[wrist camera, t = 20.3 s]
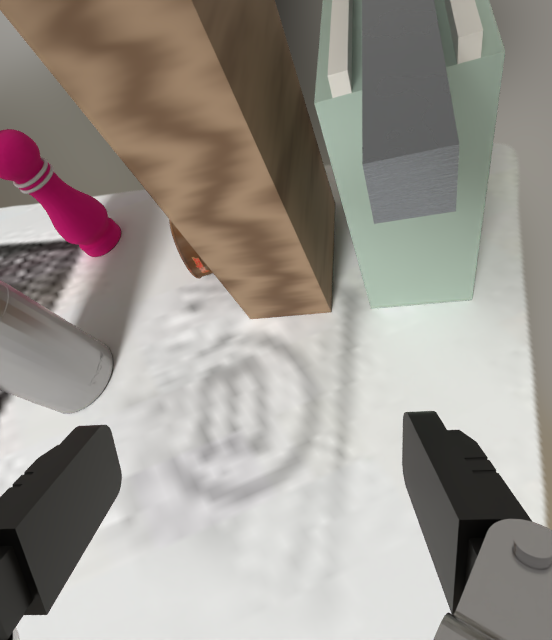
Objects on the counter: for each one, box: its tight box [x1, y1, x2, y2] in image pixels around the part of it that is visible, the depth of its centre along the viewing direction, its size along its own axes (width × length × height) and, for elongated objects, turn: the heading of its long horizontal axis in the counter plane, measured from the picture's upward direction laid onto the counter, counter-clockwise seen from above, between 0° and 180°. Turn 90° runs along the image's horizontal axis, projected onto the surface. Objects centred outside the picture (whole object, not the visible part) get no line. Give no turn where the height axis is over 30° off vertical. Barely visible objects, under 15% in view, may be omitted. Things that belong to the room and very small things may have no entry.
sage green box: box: [314, 0, 505, 309], centre depth 32 cm, size 9×15×23 cm, turn 175°
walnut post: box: [0, 0, 335, 319], centre depth 32 cm, size 9×15×33 cm, turn 175°
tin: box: [169, 219, 213, 278], centre depth 48 cm, size 15×3×8 cm, turn 12°
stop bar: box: [362, 0, 459, 224], centre depth 20 cm, size 3×24×3 cm, turn 174°
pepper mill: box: [0, 129, 121, 257], centre depth 52 cm, size 7×7×20 cm
